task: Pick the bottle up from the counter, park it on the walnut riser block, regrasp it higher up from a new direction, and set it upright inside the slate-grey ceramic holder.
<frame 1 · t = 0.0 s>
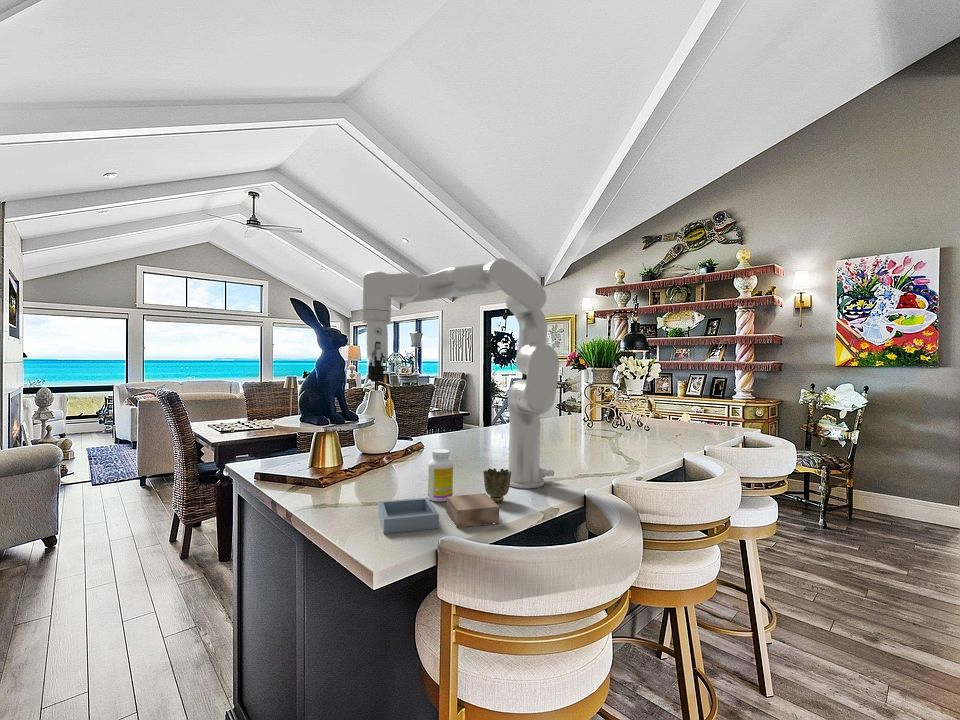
hand: (375, 380, 121), 31 cm above the table, tool pointing down, fingers open, 9 cm apart
slate ceramic holder: (407, 521, 102), on the table
walnut riser block: (471, 518, 105), on the table
supplement bottle: (440, 499, 119), on the table
cup: (496, 502, 118), on the table
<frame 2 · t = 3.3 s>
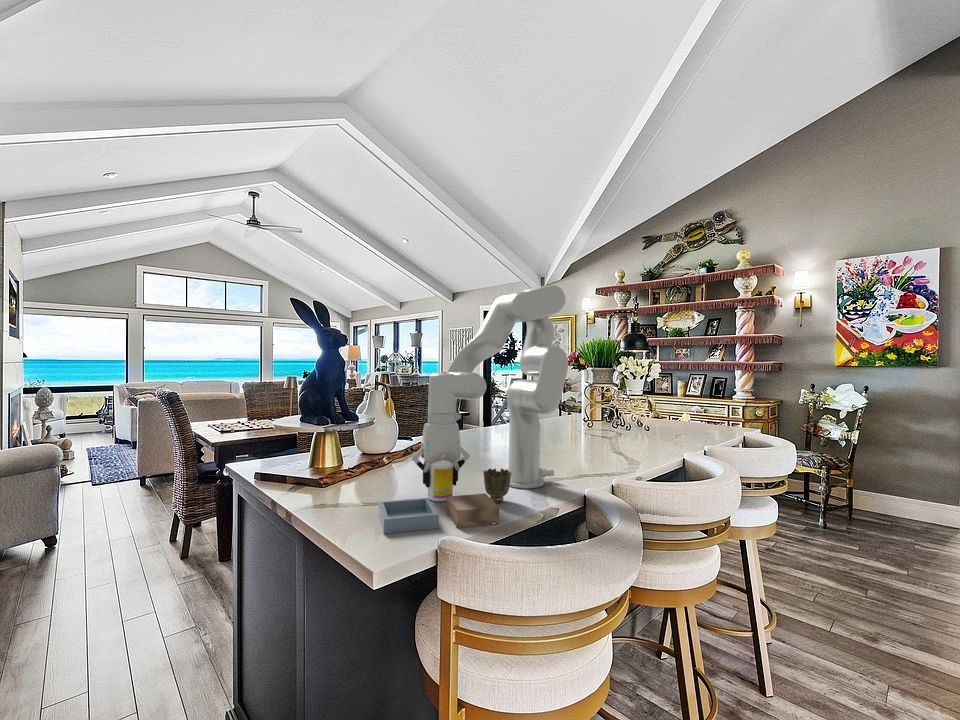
hand: (440, 484, 119), 4 cm above the table, tool pointing down, fingers closed on supplement bottle, 6 cm apart
supplement bottle: (440, 499, 119), on the table, touching gripper
everything else where it was.
when the fingers open (9 cm above the table, at t = 8.7 s): supplement bottle drops 1 cm, resting on walnut riser block.
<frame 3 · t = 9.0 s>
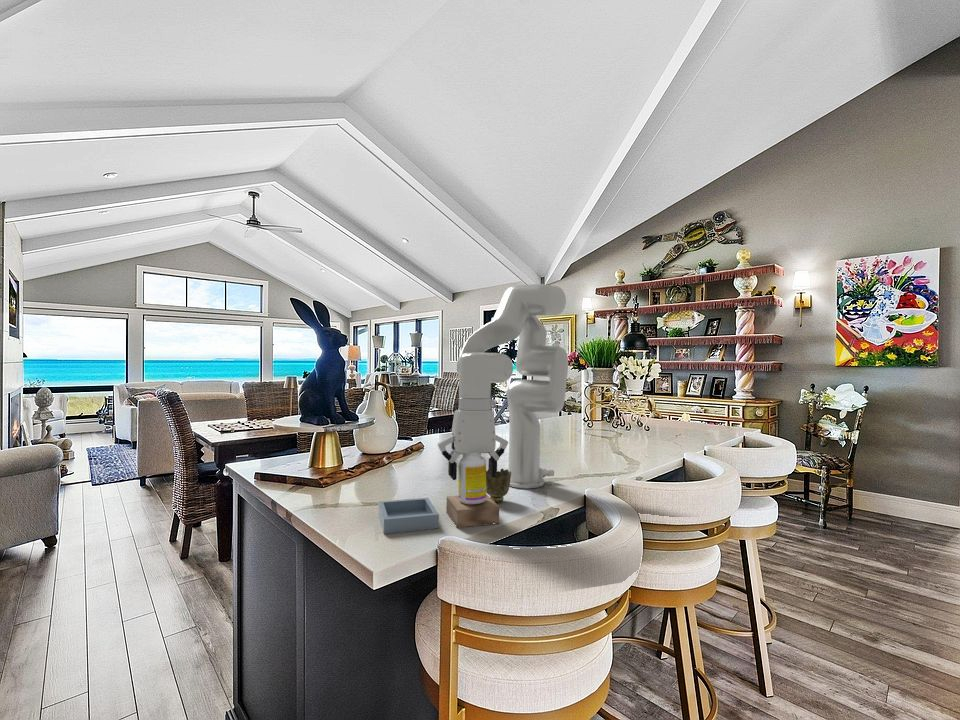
hand: (472, 477, 105), 10 cm above the table, tool pointing down, fingers open, 9 cm apart
supplement bottle: (472, 501, 105), point 4 cm above the table, touching walnut riser block
everything else where it was.
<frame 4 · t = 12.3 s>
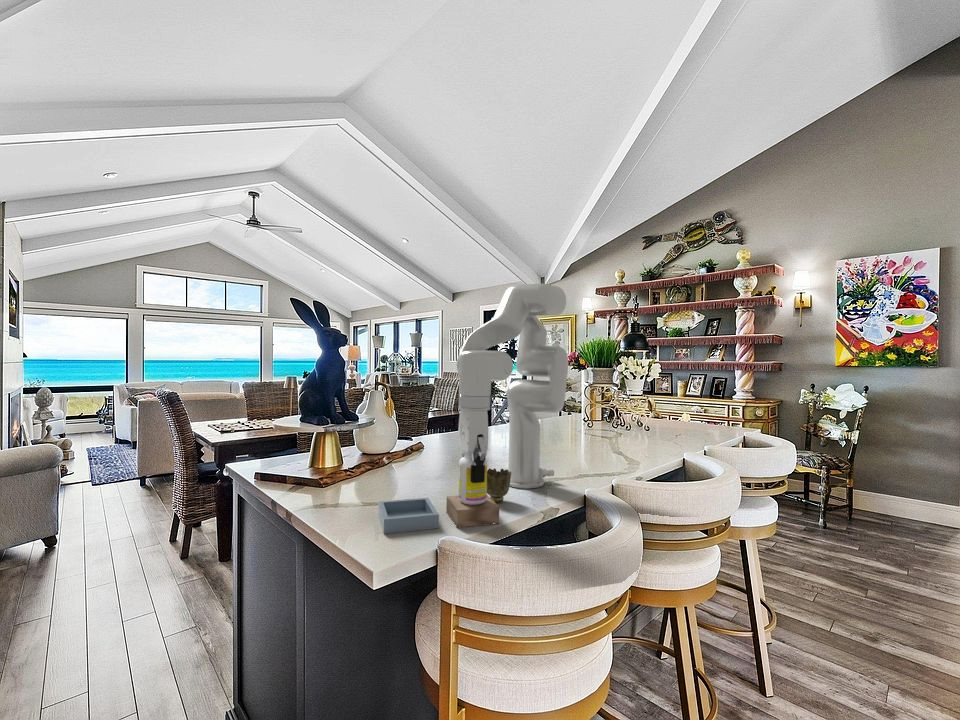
hand: (472, 477, 105), 10 cm above the table, tool pointing down, fingers closed on supplement bottle, 6 cm apart
supplement bottle: (472, 501, 105), point 4 cm above the table, touching gripper, walnut riser block
everything else where it was.
when the fingers open (8 cm above the table, at t = 17.9 s): supplement bottle drops 2 cm, resting on slate ceramic holder.
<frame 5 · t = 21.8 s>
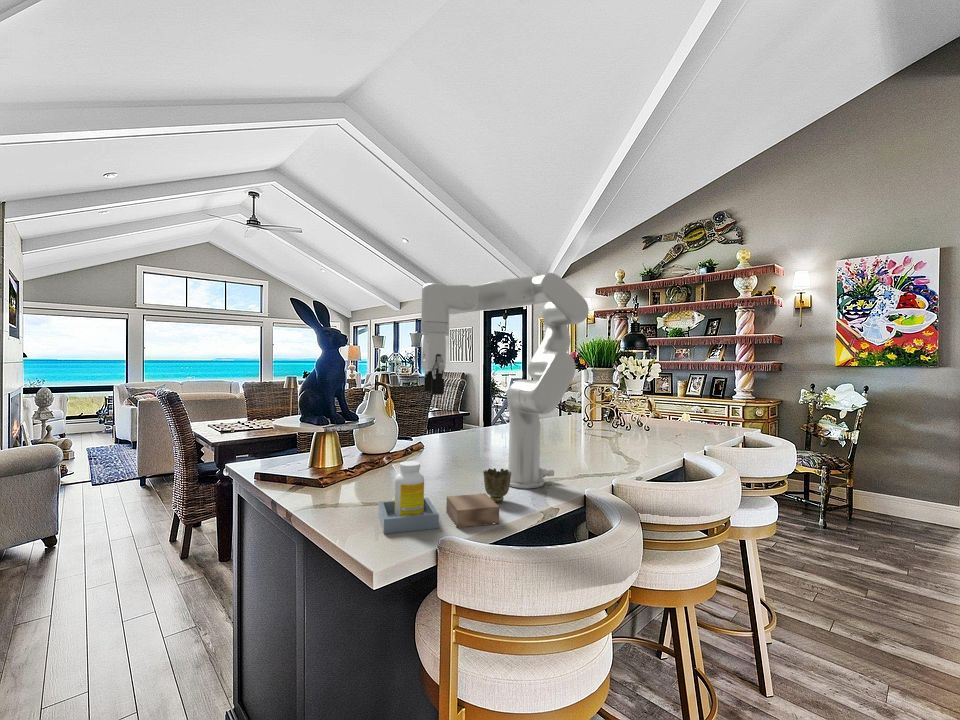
hand: (433, 392, 120), 28 cm above the table, tool pointing down, fingers open, 9 cm apart
supplement bottle: (409, 519, 102), resting on slate ceramic holder
everything else where it was.
at the end: supplement bottle 0.4 cm off-centre on the slate ceramic holder, point 0.4 cm above the slate ceramic holder's base; supplement bottle tilted 0°; the gripper is holding nothing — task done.
